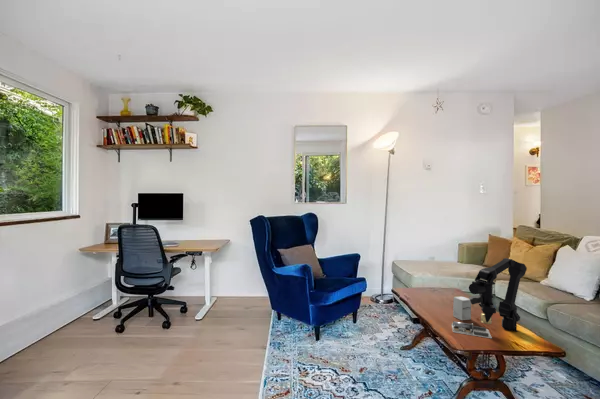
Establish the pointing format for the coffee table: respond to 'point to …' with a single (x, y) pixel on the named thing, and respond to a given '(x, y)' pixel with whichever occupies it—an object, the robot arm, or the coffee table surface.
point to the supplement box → (462, 308)
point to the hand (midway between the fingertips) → (486, 320)
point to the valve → (484, 319)
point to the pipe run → (470, 329)
